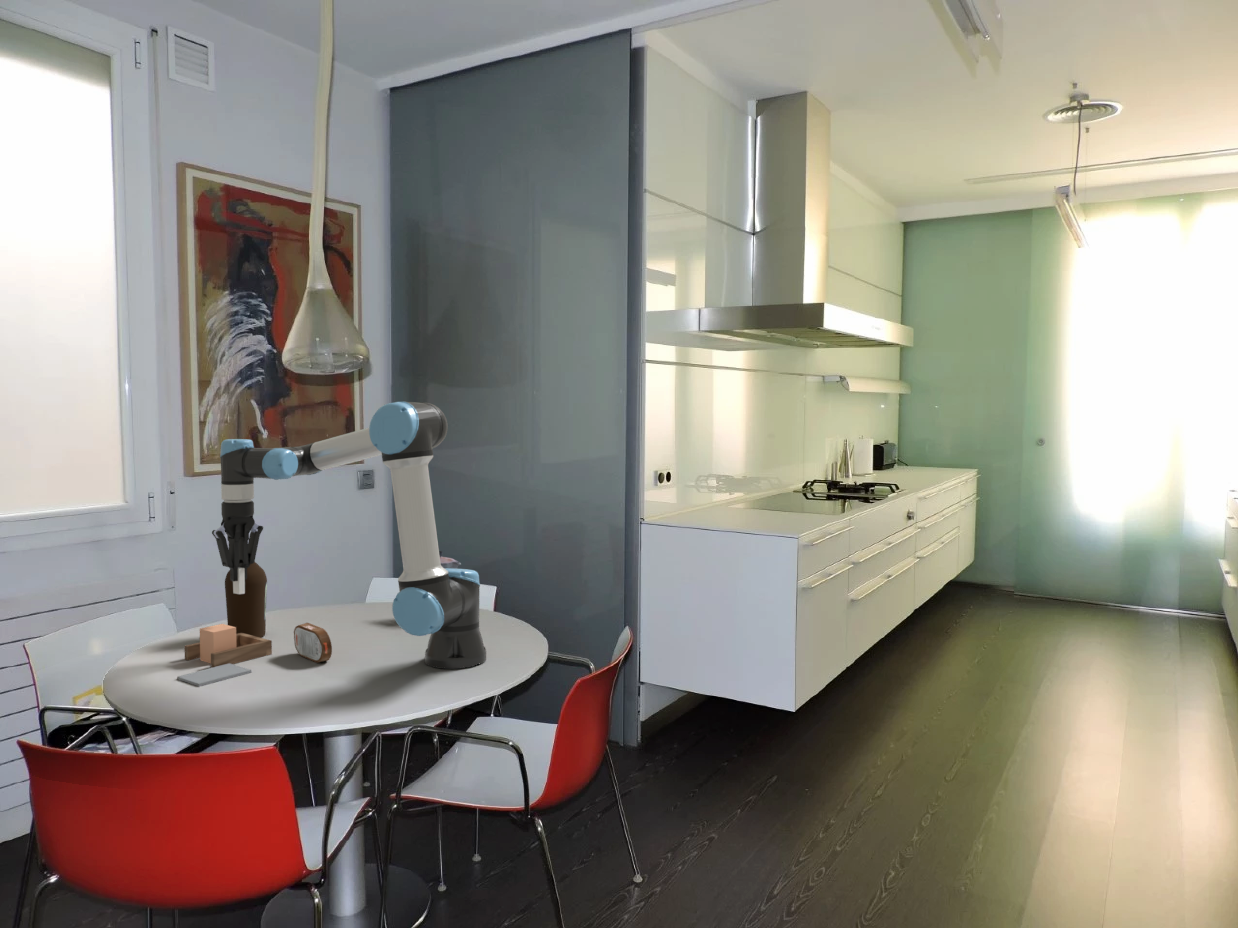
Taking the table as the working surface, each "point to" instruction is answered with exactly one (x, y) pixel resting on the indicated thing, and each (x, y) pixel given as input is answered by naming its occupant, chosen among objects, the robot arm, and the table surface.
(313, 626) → the tin
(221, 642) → the block
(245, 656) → the bay
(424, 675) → the table surface
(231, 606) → the olive oil
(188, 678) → the mat
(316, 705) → the table surface
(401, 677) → the table surface
